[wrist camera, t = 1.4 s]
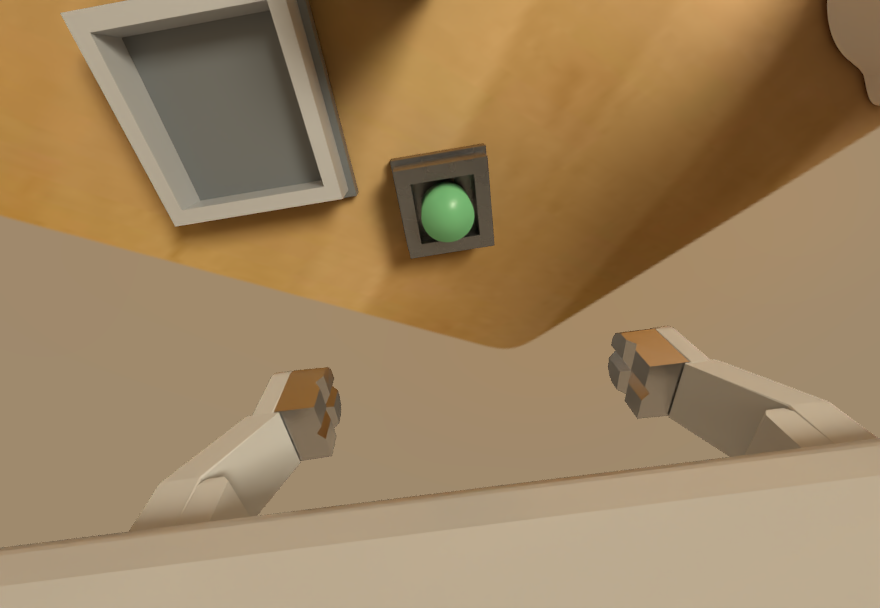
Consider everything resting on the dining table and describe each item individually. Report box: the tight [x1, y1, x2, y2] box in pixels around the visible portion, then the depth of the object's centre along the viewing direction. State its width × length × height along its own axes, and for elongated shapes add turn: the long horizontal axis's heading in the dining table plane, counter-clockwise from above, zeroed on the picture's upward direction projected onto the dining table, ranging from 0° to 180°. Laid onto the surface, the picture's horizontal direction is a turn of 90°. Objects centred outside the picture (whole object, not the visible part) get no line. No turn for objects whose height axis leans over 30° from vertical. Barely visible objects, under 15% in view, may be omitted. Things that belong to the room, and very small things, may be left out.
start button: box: [421, 182, 474, 242], centre depth 26 cm, size 4×4×2 cm
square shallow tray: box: [60, 0, 359, 227], centre depth 24 cm, size 13×13×4 cm
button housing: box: [390, 144, 494, 259], centre depth 28 cm, size 7×7×4 cm
